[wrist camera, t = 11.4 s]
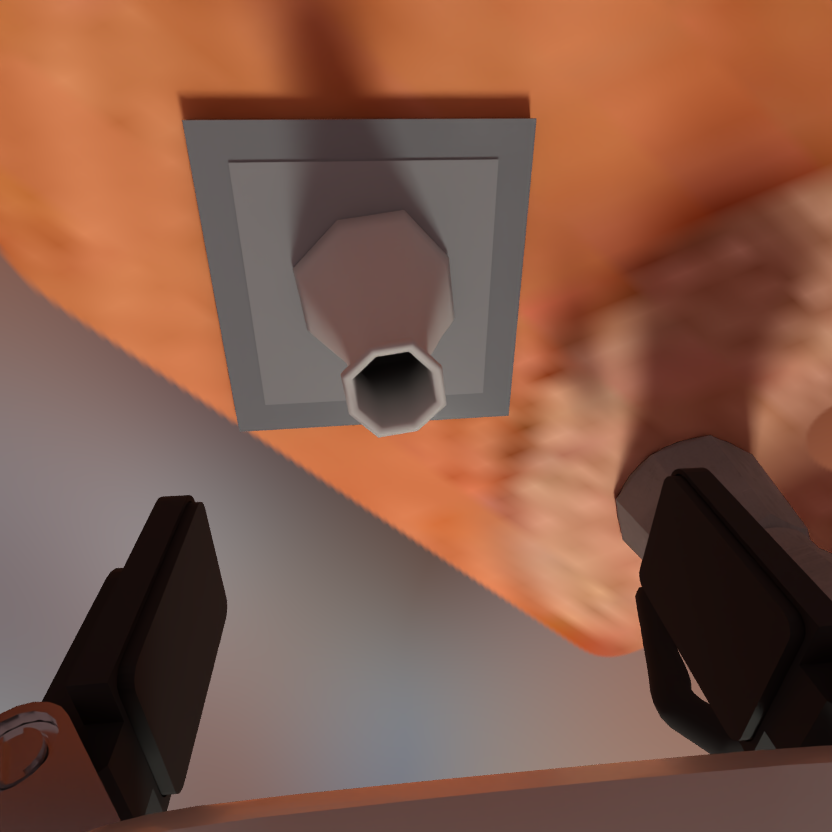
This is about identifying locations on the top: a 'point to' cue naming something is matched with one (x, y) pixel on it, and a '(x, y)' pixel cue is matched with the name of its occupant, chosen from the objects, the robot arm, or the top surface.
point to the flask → (381, 316)
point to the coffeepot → (635, 522)
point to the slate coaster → (347, 198)
